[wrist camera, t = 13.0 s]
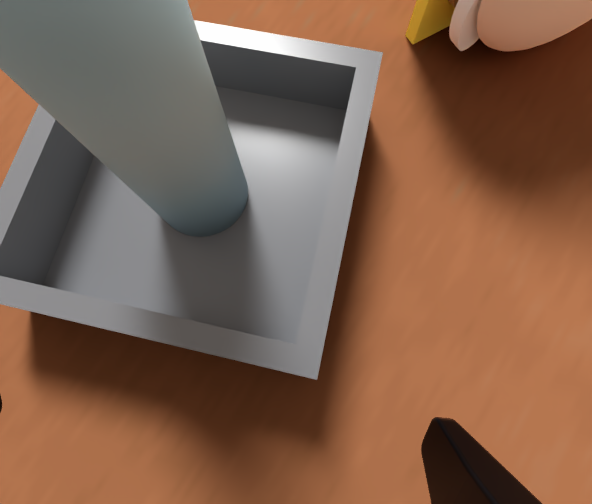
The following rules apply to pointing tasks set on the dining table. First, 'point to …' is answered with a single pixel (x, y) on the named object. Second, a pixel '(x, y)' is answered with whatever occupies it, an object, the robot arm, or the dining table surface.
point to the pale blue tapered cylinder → (132, 99)
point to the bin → (216, 248)
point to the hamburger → (498, 21)
